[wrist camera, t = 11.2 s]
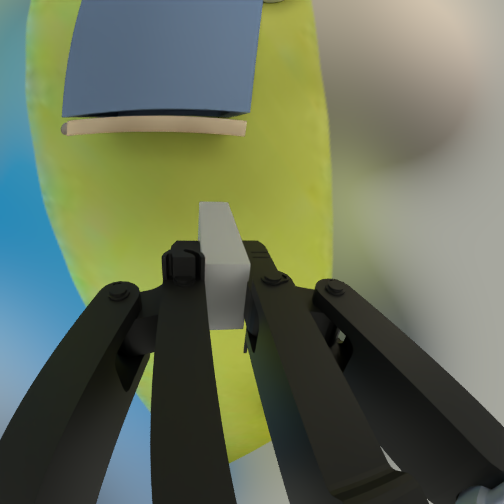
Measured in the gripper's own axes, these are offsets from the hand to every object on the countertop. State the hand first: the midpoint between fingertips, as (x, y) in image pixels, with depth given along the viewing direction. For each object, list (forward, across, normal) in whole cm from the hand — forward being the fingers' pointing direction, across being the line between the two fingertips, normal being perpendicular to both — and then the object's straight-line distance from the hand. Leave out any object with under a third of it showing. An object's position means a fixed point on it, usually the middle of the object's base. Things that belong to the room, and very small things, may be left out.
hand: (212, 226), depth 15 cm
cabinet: (+19, -4, +12) cm, 23 cm away
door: (+18, -5, +5) cm, 19 cm away
